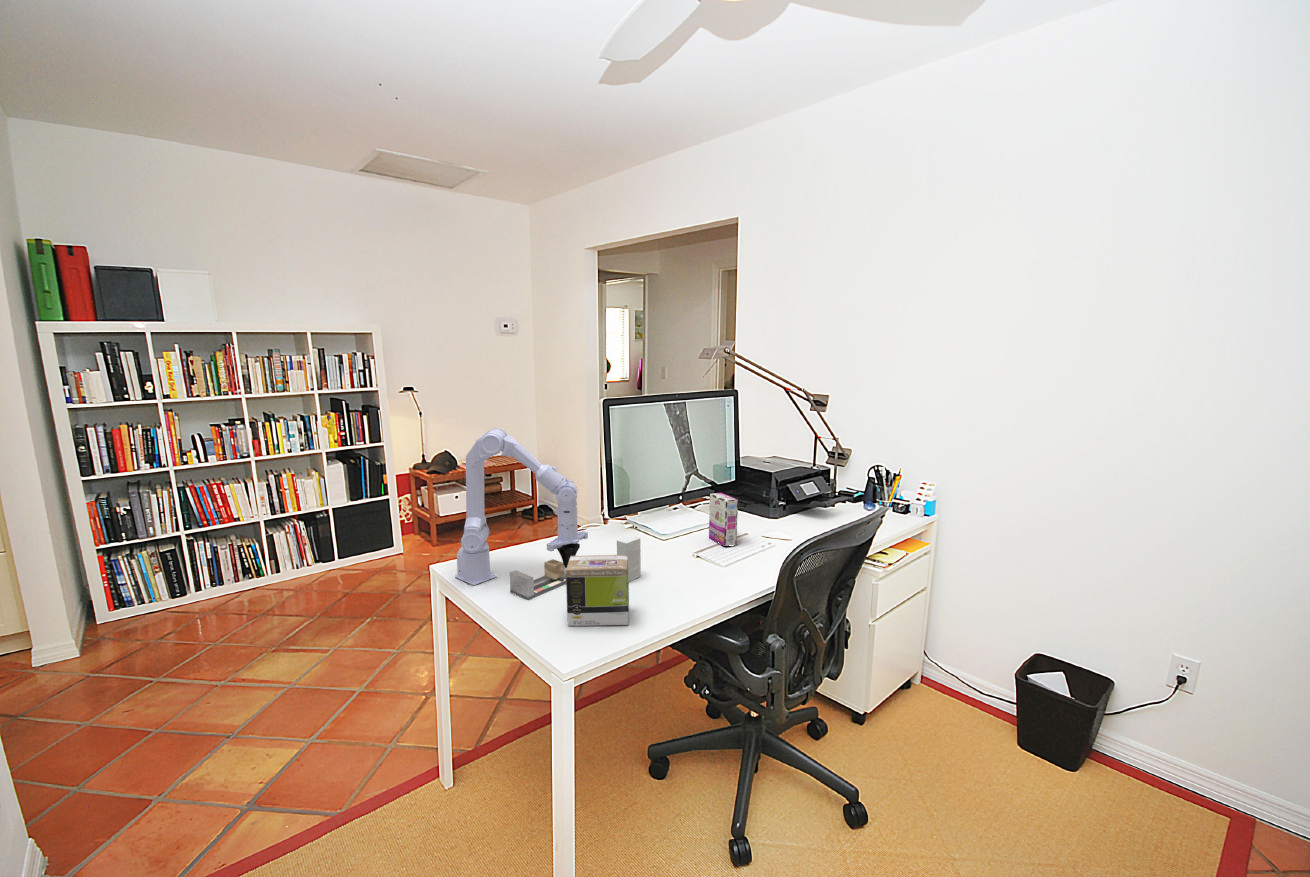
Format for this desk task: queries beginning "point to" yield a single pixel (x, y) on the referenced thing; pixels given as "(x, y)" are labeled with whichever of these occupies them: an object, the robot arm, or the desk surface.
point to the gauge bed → (532, 584)
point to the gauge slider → (554, 569)
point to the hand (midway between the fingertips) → (568, 567)
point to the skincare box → (631, 554)
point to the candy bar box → (723, 519)
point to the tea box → (597, 590)
